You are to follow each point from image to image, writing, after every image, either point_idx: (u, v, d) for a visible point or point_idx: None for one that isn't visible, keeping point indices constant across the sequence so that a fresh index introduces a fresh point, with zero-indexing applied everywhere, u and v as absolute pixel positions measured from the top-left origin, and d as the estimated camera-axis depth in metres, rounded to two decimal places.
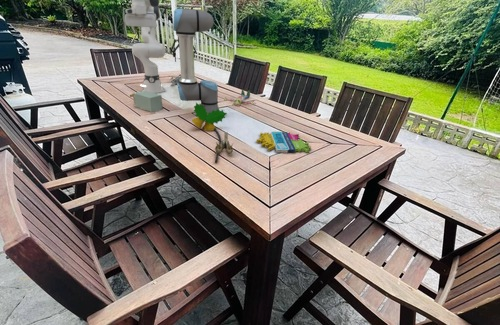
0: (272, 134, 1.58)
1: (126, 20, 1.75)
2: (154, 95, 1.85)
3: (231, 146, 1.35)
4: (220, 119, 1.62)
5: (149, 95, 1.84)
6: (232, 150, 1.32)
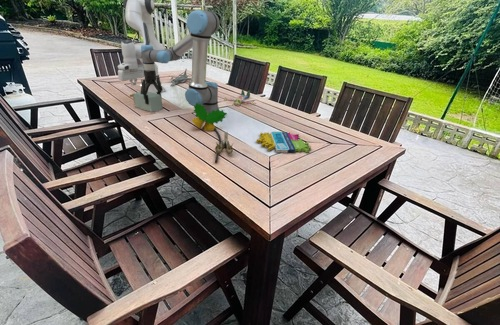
0: (272, 134, 1.58)
1: (123, 76, 1.79)
2: (154, 95, 1.85)
3: (231, 146, 1.35)
4: (220, 119, 1.62)
5: (149, 95, 1.84)
6: (232, 150, 1.32)
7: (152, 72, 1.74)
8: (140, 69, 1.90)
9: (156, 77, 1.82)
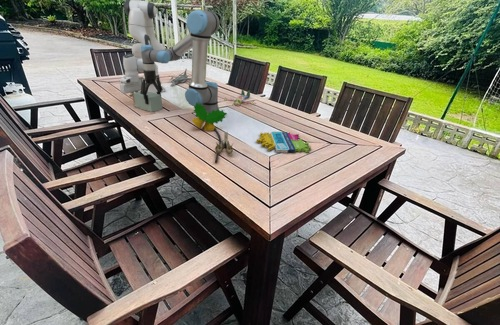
0: (272, 134, 1.58)
1: (124, 89, 1.84)
2: (154, 95, 1.85)
3: (231, 146, 1.35)
4: (220, 119, 1.62)
5: (149, 95, 1.84)
6: (232, 150, 1.32)
7: (152, 72, 1.75)
8: None
9: (156, 77, 1.82)
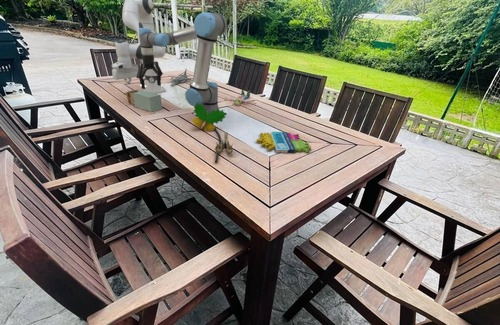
0: (272, 134, 1.58)
1: (117, 75, 1.82)
2: (153, 95, 1.85)
3: (231, 146, 1.35)
4: (220, 119, 1.62)
5: (148, 95, 1.85)
6: (232, 150, 1.32)
7: (150, 56, 1.70)
8: (134, 68, 1.92)
9: (154, 62, 1.77)
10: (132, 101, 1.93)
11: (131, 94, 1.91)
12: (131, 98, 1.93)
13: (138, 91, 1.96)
